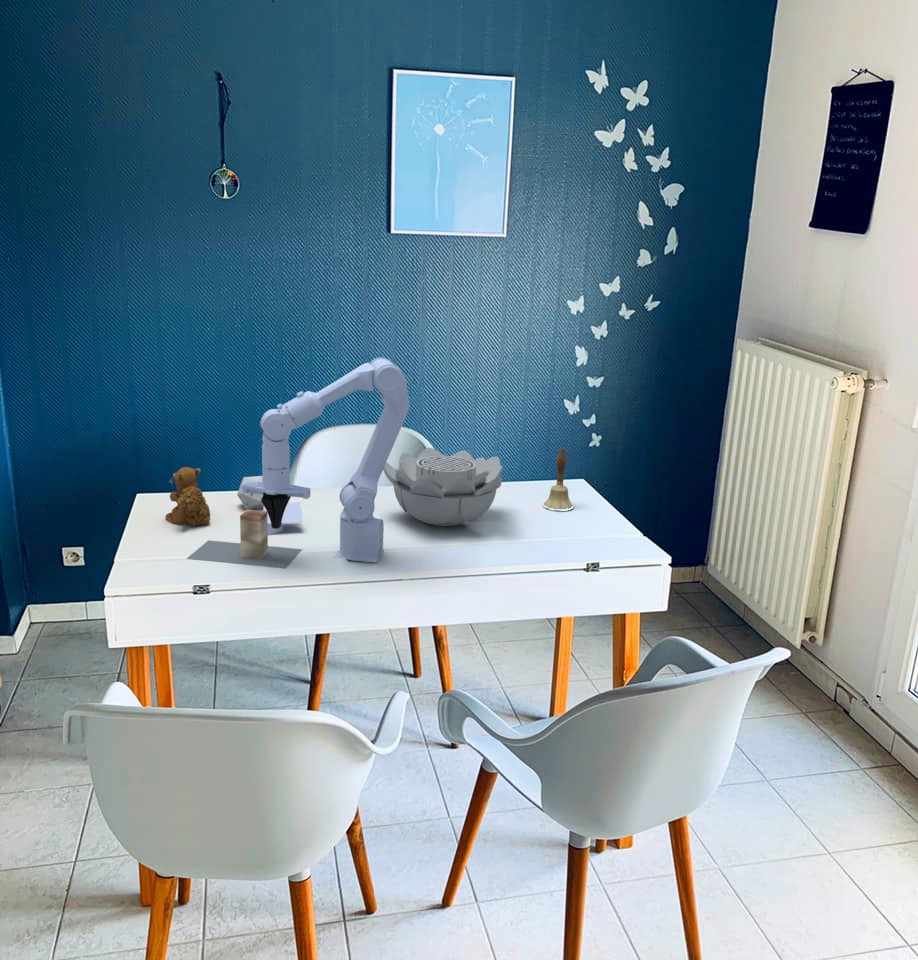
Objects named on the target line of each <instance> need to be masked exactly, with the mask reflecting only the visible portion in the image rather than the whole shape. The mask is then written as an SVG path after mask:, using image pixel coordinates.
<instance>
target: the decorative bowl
mask: <svg viewBox="0 0 918 960" xmlns="http://www.w3.org/2000/svg"><path fill="white" fill-rule="evenodd" d="M382 472H384V475H385V476H386V478H387V480H389V482H391V484H393V490H394V495H395V499H396V501H397V502H398V504H399V506H400V507H401V509H402V510H403V511H404V512H405V513H409V515H411V516H412V517H414V518H415V519H416V520H419V521H421V522H423V523H426V524H429V525H435V526H443V527H447V526H448V527H449V526H452V527H453V526H458V525H463V524H466V523H473V522H475V521H477V520H479V519H480V518H481V517H483V516H484V514H485V513H487V512H488V510H489V509H490V507H491V506H492V504H493V502H494V500H495V497H496V493H497V490H498V489H499V488H500V487H501V486H502V476H501V475H502V473H503V465H501V461H500V457H498V456H492V457H489V458H487V459H485V457H479V458H478V457H477V458H475V459H474V457H473V456H472V455H471V454H470V453H469V452H468V451H466V450H461V451H458V452H456V453H454V454H453V455H444V454H442V453H441V452H440V451H438V450H437V449H435V448H433V447H426V448H425V449H423V450H421V452H420V453H419V454H418V456H417V458H416V457H414V456H413V455H412V454H410V453H408V452H402V453H401V454H400V456H399V460H398V468H397V469H396V468H395V467H394V466H392V465H390V463H388V462H386V464H385V466H384V468H383V471H382Z"/></svg>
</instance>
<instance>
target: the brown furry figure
mask: <svg viewBox="0 0 918 960" xmlns="http://www.w3.org/2000/svg"><path fill="white" fill-rule="evenodd" d="M200 473H201V469H200V468H198V467H197V468H195V469H194V468H192V467H189V466H186V467H185V466H184V467H183V466H182V467H181V468H179V469H178V470H177V472H174V473H173V475H172V478H171V479H169V481H168V483H170V484H171V485H173V482H175V486H176V489H177V491H172V492H170V494H169V499H170V501H171V502H175V503H177V505H176V506H174V508H173V509H172V510H171V512H168V513H167V514H165V516H164V517H165V520H167V521H168V522H170V523H171V524H174V525H175V524H176V525H188V526H190V527H192V528H194V527H199V526H200V527H201V526H207V525H208V524H209V523H210V522H211V516H212V515H211V510H210V506H209V504H208V503H206V502H207V500H206V497H205V496H204V495H203V491H202V490H201V488H199V487H198V480H197V477H198V476H199V475H200Z"/></svg>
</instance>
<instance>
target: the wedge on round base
mask: <svg viewBox="0 0 918 960" xmlns="http://www.w3.org/2000/svg"><path fill="white" fill-rule="evenodd" d="M261 511H267V510H266V508H265V506H263V508H262V509H261ZM302 512H303V511H302V505H301V502H288V504H287V506H286V508H285V511H284V514H283V517H282V522H281V527H279V528H278V529H274V528H272V525H271V521H270V518H269V515H268V513H267V522H268V535H270V536H271V535H274V534H278V533H280V532H281V533H282V531H283V530H284V524H289V523H290V524H291V523H303V522H304V520H303V514H302Z"/></svg>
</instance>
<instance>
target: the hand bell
mask: <svg viewBox="0 0 918 960" xmlns="http://www.w3.org/2000/svg"><path fill="white" fill-rule="evenodd" d="M567 459H568V458H567V454H566V449H565V448H560V449H559V452H558V453H557V457H556V468H557V476H556V478H557V479H556V484H555V485H553V486H551V488H550V492H549V493H550V494H549V495H548V498H547V500H545V502H543V504H544V505H545V506H547V507H549V508H553V509H567V508H568V509H569V508H571V507H572V506H574V504H573V503H572V502H571V500H570V497H569V488H568V487H567V486H565V485H564V472H565V469H566V466H567V462H568V461H567ZM572 504H573V505H572Z"/></svg>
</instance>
